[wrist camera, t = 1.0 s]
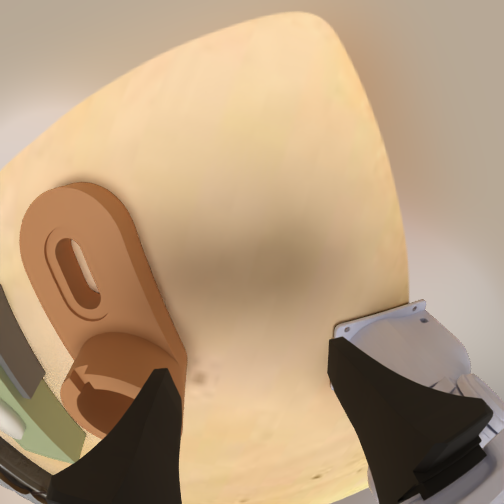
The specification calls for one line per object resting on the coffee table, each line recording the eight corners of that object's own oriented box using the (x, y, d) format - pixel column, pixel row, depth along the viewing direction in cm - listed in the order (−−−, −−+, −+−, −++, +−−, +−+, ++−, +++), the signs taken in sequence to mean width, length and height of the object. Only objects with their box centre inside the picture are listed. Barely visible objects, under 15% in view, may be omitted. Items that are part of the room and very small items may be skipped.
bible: (8, 435, 24) (-6, 471, 15) (95, 498, 34) (91, 529, 25) (-29, 425, 24) (-41, 451, 15) (42, 485, 34) (36, 510, 24)
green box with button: (-4, 273, 15) (-48, 309, 9) (93, 435, 23) (83, 476, 17) (-50, 285, 15) (-83, 313, 8) (35, 424, 22) (21, 458, 16)
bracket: (201, 379, 21) (201, 446, 15) (120, 390, 21) (104, 449, 15) (117, 163, 15) (61, 171, 8) (27, 206, 15) (-35, 233, 8)
